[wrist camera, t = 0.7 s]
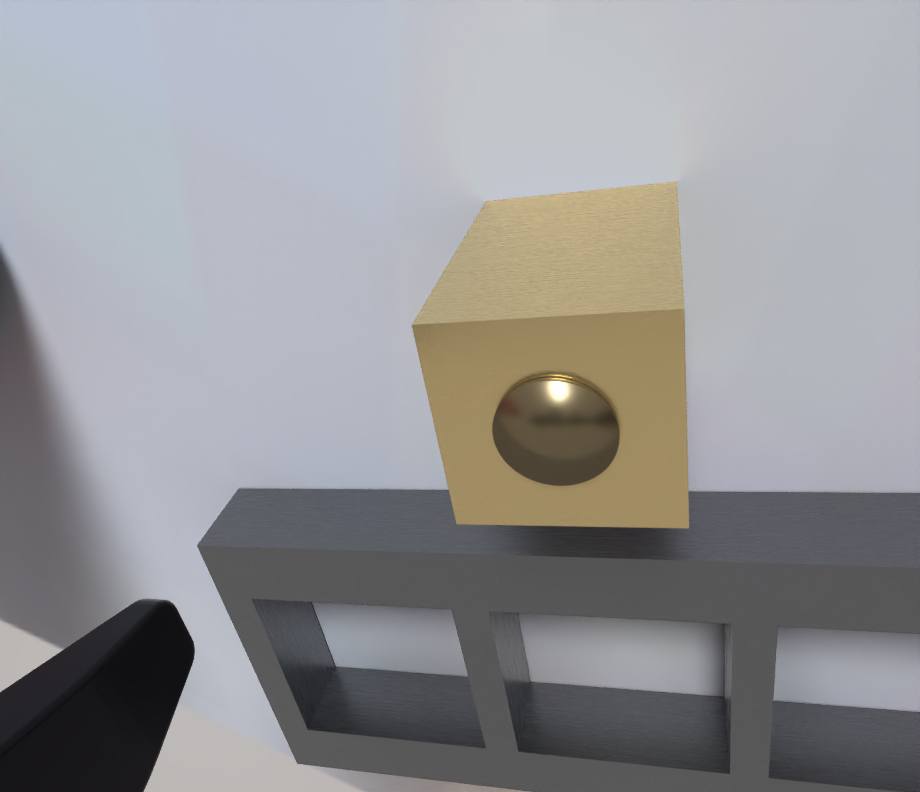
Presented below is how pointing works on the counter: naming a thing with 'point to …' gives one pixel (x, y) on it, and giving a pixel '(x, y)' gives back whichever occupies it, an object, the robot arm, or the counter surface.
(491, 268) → the brass block
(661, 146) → the counter surface
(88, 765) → the robot arm
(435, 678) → the tray
